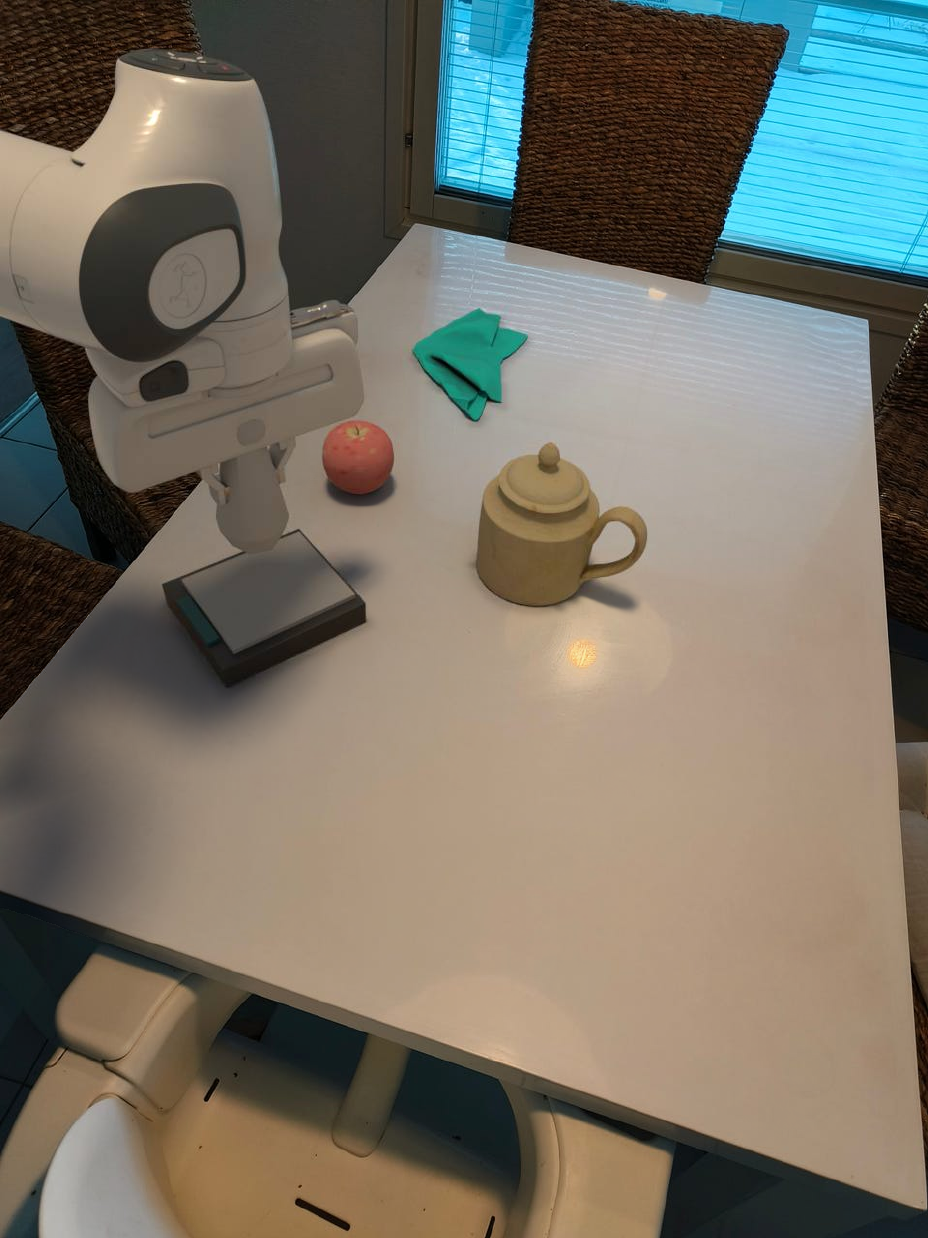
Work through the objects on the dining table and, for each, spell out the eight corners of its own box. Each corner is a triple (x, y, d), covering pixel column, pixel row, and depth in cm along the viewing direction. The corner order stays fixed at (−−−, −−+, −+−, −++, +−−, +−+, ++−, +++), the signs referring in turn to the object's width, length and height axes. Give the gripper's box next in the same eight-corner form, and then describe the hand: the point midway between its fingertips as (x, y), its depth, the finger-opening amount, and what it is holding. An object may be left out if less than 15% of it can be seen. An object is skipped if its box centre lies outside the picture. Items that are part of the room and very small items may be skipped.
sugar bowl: (617, 537, 89) (651, 415, 78) (628, 614, 81) (667, 491, 70) (475, 526, 88) (489, 402, 77) (473, 603, 81) (488, 477, 70)
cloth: (443, 304, 120) (443, 289, 118) (537, 323, 118) (539, 308, 117) (381, 400, 103) (381, 384, 101) (491, 425, 101) (492, 408, 99)
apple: (383, 514, 89) (383, 451, 83) (315, 501, 89) (310, 438, 83) (400, 472, 94) (402, 410, 88) (336, 460, 94) (333, 397, 88)
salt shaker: (260, 571, 69) (241, 438, 59) (205, 544, 71) (178, 410, 61) (304, 531, 72) (293, 399, 63) (251, 506, 74) (232, 374, 65)
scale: (226, 688, 72) (221, 665, 70) (166, 603, 78) (160, 579, 76) (366, 621, 78) (365, 598, 76) (300, 547, 84) (298, 523, 82)
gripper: (333, 276, 64) (339, 430, 74) (58, 347, 55) (108, 512, 65) (379, 312, 61) (379, 468, 71) (96, 394, 51) (142, 560, 62)
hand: (248, 490), depth 68 cm, fingers closed on salt shaker, 3 cm apart
